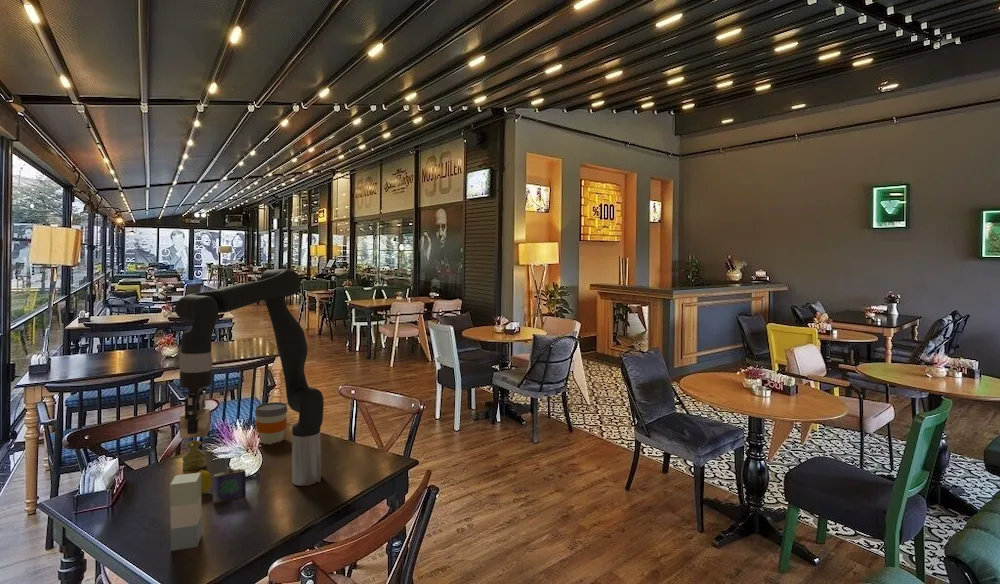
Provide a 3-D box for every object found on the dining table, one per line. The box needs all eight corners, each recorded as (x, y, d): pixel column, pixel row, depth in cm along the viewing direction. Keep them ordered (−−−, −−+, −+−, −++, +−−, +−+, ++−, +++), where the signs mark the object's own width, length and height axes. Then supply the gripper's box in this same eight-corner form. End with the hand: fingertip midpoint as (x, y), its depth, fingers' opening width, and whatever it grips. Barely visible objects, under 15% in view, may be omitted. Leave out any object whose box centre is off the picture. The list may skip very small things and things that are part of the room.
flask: (213, 504, 156) (212, 471, 156) (213, 500, 159) (212, 467, 158) (246, 498, 161) (245, 465, 161) (245, 494, 164) (245, 462, 163)
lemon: (202, 498, 160) (202, 474, 160) (188, 496, 161) (187, 472, 161) (215, 491, 165) (215, 467, 165) (201, 489, 167) (201, 465, 166)
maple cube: (209, 429, 139) (210, 408, 139) (205, 436, 134) (205, 414, 134) (185, 431, 137) (185, 410, 137) (179, 438, 132) (179, 416, 132)
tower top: (201, 493, 138) (200, 472, 138) (196, 503, 133) (196, 481, 132) (176, 496, 136) (175, 475, 136) (170, 506, 131) (170, 484, 130)
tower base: (201, 535, 139) (201, 514, 139) (197, 546, 133) (197, 525, 133) (176, 539, 137) (176, 517, 137) (171, 550, 131) (170, 528, 131)
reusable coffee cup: (289, 443, 210) (289, 408, 209) (256, 448, 204) (256, 412, 203) (285, 434, 221) (285, 400, 220) (254, 438, 215) (254, 404, 214)
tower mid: (201, 514, 139) (201, 493, 138) (197, 525, 133) (196, 503, 133) (176, 518, 136) (176, 496, 136) (170, 528, 131) (170, 506, 131)
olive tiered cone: (209, 466, 185) (209, 439, 185) (188, 473, 179) (188, 445, 178) (199, 461, 189) (199, 435, 189) (178, 468, 183) (178, 441, 182)
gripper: (206, 373, 130) (205, 437, 130) (216, 363, 143) (215, 421, 144) (173, 374, 127) (172, 439, 128) (186, 364, 140) (185, 423, 141)
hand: (195, 429), depth 136 cm, fingers closed on maple cube, 6 cm apart
